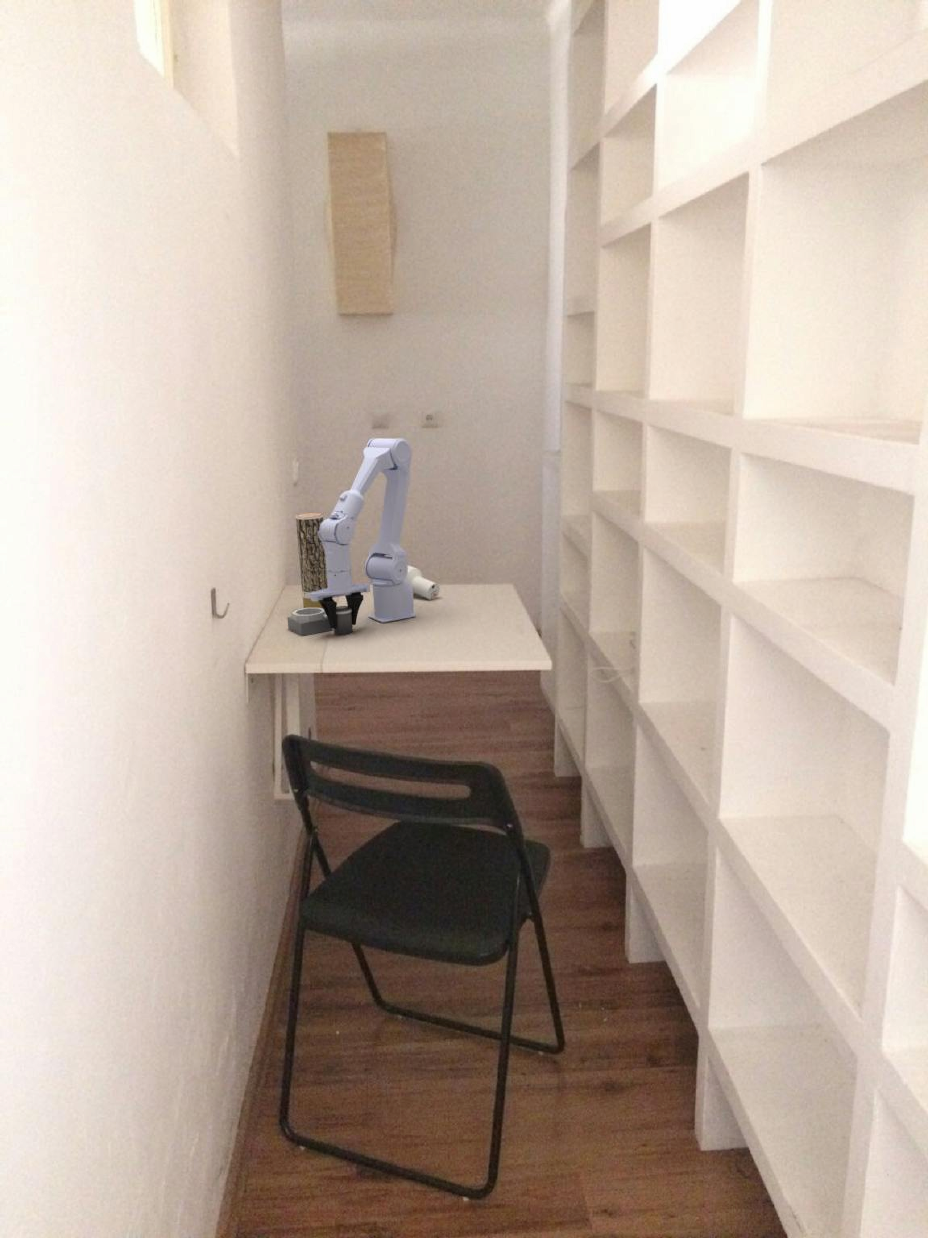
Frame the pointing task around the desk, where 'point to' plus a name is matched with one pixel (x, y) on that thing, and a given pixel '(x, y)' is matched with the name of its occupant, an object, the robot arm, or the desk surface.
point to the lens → (343, 620)
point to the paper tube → (311, 557)
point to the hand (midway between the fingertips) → (343, 626)
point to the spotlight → (421, 584)
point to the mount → (308, 621)
